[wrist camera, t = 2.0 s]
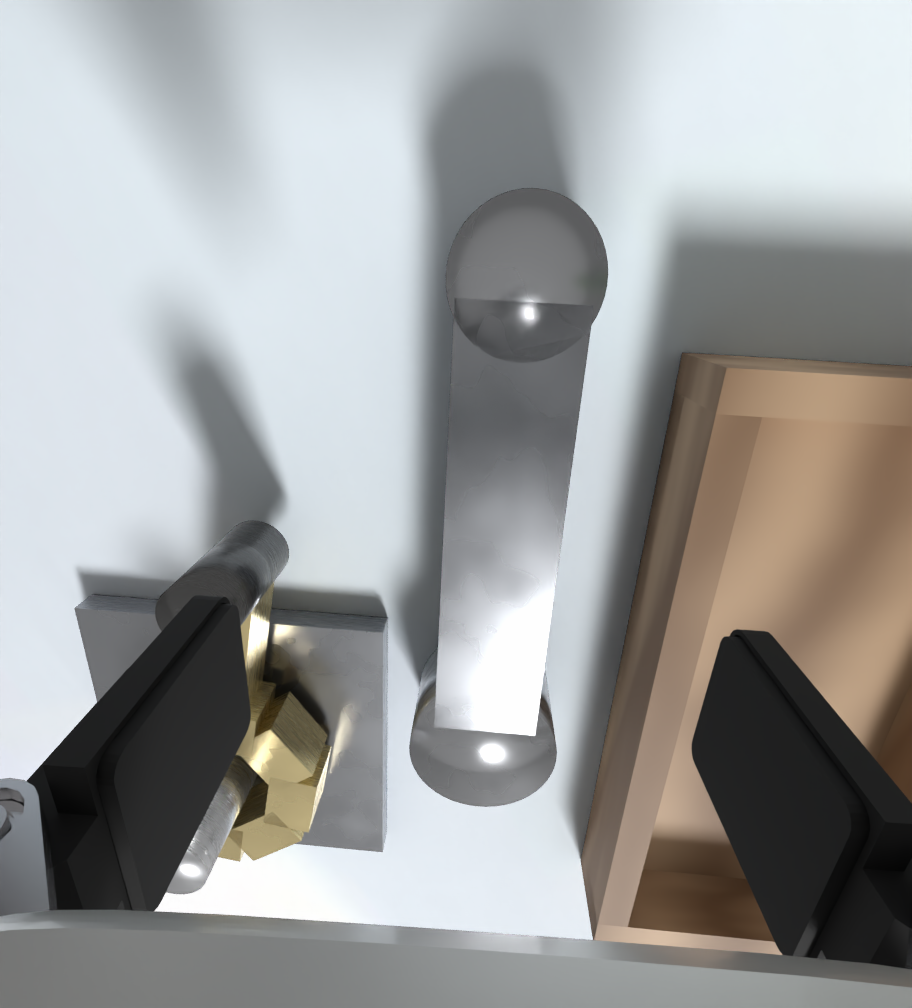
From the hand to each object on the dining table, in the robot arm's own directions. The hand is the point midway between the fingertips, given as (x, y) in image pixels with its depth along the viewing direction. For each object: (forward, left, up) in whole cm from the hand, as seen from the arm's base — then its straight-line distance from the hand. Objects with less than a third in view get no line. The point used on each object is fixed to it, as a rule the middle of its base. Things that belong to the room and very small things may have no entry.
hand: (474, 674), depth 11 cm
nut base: (+9, +11, -10) cm, 17 cm away
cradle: (-12, +6, -10) cm, 16 cm away
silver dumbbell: (-1, 0, -10) cm, 10 cm away
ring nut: (+9, +8, -8) cm, 14 cm away
